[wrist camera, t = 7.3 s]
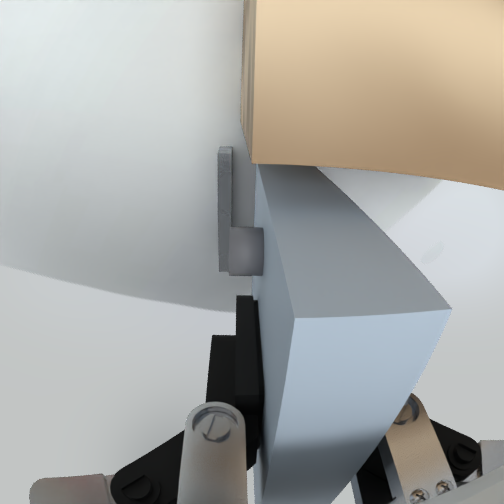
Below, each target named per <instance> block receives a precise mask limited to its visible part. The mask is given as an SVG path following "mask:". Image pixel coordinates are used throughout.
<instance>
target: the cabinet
mask: <svg viewBox="0 0 504 504" xmlns="http://www.w3.org/2000/svg"><path fill="white" fill-rule="evenodd" d="M240 121H241V125H242V129H243V132H244V136H245V140H246V144H247V147H248V151H249V155H250V158H251V162H252V164H283V165H306V166H323V167H337V168H350V169H361V170H372V171H382V172H391V173H399V174H408V175H415V176H423V177H430V178H437V179H443V180H450V181H456V182H462V183H468V184H474V185H479V186H484V187H489V188H494V189H499V190H504V0H244V15H243V45H242V79H241V119H240Z"/></svg>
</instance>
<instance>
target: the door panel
mask: <svg viewBox="0 0 504 504" xmlns="http://www.w3.org/2000/svg"><path fill="white" fill-rule="evenodd" d="M229 276H252V296H253V299H254V300H258V310H259V322H260V335H261V348H262V361H263V374H264V389H265V397H264V409H263V419H262V428H261V437H260V446H259V449H257V459H256V464H255V465H253V468H254V494H255V504H331V503H332V501H333V500H334V499H335V498H336V497H337V496H338V495H339V493H340V492H341V491H342V490H343V489H344V488H345V487H346V485H347V484H348V483H349V482H350V481H351V479H352V478H353V477H354V476H355V474H356V473H357V472H358V471H359V469H360V468H361V467H362V465H363V464H364V463H365V462H366V460H367V459H368V458H369V456H370V455H371V453H372V452H373V451H374V449H375V448H376V447H377V445H378V444H379V442H380V441H381V439H382V438H383V437H384V435H385V434H386V432H387V431H388V429H389V428H390V426H391V425H392V423H393V422H394V420H395V418H396V417H397V415H398V414H399V412H400V411H401V409H402V407H403V406H404V404H405V402H406V401H407V399H408V397H409V396H410V394H411V392H412V390H413V389H414V387H415V385H416V383H417V382H418V380H419V378H420V376H421V374H422V372H423V371H424V369H425V367H426V365H427V363H428V361H429V359H430V357H431V355H432V353H433V351H434V349H435V347H436V345H437V342H438V340H439V338H440V336H441V334H442V332H443V330H444V327H445V325H446V323H447V320H448V318H449V316H450V313H451V311H452V308H451V307H450V305H449V304H448V303H447V302H446V301H445V299H444V298H443V297H442V296H441V295H440V293H439V292H438V291H437V290H436V289H435V288H434V286H433V285H432V284H431V283H430V282H429V281H428V279H427V278H426V277H425V276H424V275H423V274H422V273H421V271H420V270H419V269H418V268H417V267H416V266H415V265H414V264H413V263H412V262H411V260H410V259H409V258H408V257H407V256H406V255H405V254H404V253H403V252H402V251H401V249H400V248H398V246H397V245H396V244H395V243H394V242H393V241H392V240H391V239H390V238H389V237H388V236H387V235H386V234H385V233H384V232H383V231H382V230H381V229H380V228H379V227H378V226H377V225H376V224H375V223H374V222H373V221H372V220H371V219H370V218H369V217H368V216H367V215H366V214H365V213H364V212H363V211H362V210H361V209H360V208H359V207H358V206H357V205H356V204H355V203H354V202H353V201H352V200H351V199H350V198H349V197H348V196H347V195H346V194H345V193H344V192H343V191H341V190H340V189H339V188H338V187H337V186H336V185H335V184H334V183H333V182H332V181H331V180H330V179H328V178H327V177H326V176H325V175H324V174H323V173H322V172H321V171H320V170H318V169H317V168H316V167H315V166H306V165H283V164H256V189H255V218H254V227H230V233H229Z"/></svg>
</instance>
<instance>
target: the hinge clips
mask: <svg viewBox="0 0 504 504" xmlns="http://www.w3.org/2000/svg"><path fill="white" fill-rule="evenodd" d="M231 195H232V147H220V149H219V152H218V237H219V271H229V233H230V227H231Z"/></svg>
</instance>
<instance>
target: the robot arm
mask: <svg viewBox="0 0 504 504" xmlns="http://www.w3.org/2000/svg"><path fill="white" fill-rule="evenodd" d="M208 372H209V373H208V382H207V393H206V403H205V404H201V405H199V406H198V407H196V408H195V409H193V410H192V411H191V413H190V414H189V415H188V417H187V420H186V424H185V430H184V431H182V432H180V433H179V434H178V435H176V436H174V437H173V438H171V439H170V440H168V441H167V442H165V443H163V444H162V445H160V446H159V447H157V448H155V449H154V450H152V451H151V452H149V453H148V454H146V455H144V456H142V457H141V458H139V459H137V460H136V461H134V462H132V463H131V464H129V465H127V466H125V467H123V468H122V469H121V470H119V471H118V472H117V473H116V474H115V475H108V476H104V475H103V474H94V475H84V476H73V477H57V478H43V479H39V480H37V481H36V482H35V483H34V484H33V485H32V487H31V488H30V494H29V499H30V504H248V501H247V470H249V469H250V468H251V467H252V466H253V465H255V464H256V459H257V449H259V446H260V437H261V428H262V419H263V409H264V397H265V389H264V374H263V361H262V348H261V335H260V322H259V310H258V300H254V299H253V296H241V295H237V298H236V335H232V336H231V335H212V342H211V351H210V361H209V371H208ZM351 484H352V489H353V493H354V498H355V503H356V504H504V440H480V442H479V443H477V442H476V441H475V440H473V439H472V438H470V437H468V436H466V435H464V434H461V433H459V432H457V431H455V430H453V429H450V428H448V427H446V426H443V425H441V424H439V423H437V422H435V421H433V420H431V419H429V417H428V415H427V413H426V410H425V408H424V406H423V404H422V403H421V401H420V400H419V398H418V397H416V396H415V395H414V394H412V393H411V394H410V396H409V397H408V399H407V401H406V402H405V404H404V406H403V407H402V409H401V411H400V412H399V414H398V415H397V417H396V418H395V420H394V422H393V423H392V425H391V426H390V428H389V429H388V431H387V432H386V434H385V435H384V437H383V438H382V439H381V441H380V442H379V444H378V445H377V447H376V448H375V449H374V451H373V452H372V453H371V455H370V456H369V458H368V459H367V460H366V462H365V463H364V464H363V465H362V467H361V468H360V469H359V471H358V472H357V473H356V474H355V476H354V477H353V478H352V479H351Z"/></svg>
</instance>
